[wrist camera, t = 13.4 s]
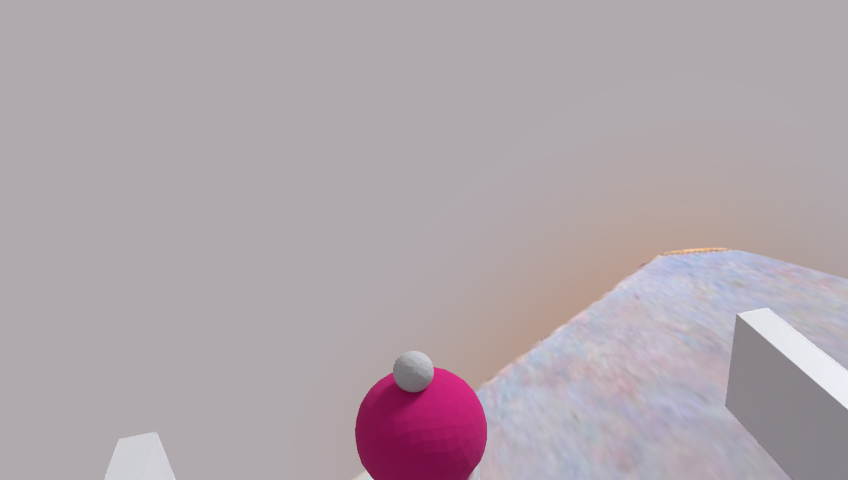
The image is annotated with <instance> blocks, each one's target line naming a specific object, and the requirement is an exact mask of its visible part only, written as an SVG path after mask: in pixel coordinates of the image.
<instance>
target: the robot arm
mask: <svg viewBox="0 0 848 480" xmlns="http://www.w3.org/2000/svg"><path fill="white" fill-rule="evenodd" d="M725 406H726V407H727V408H728V410H729V411H730V412H731V413H732V414H733V415H734V416H735V417H736V418H737V420H738V421H739V422H740V423H741V424H742V425H743V426H744V427H745V428H746V429H747V431H748V432H749V433H750V434H751V435H752V436H753V437H754V438H755V439H756V440H757V442H758V443H759V444H760V445H761V446H762V447H763V448H764V449H765V450H766V452H767V453H768V454H769V455H770V456H771V457H772V458H773V459H774V460H775V461H776V463H777V464H778V465H779V466H780V467H781V468H782V469H783V470H784V471H785V473H786V474H787V475H788V476H789V477H790V478H791V479H792V480H848V371H847V370H846V369H844V368H843V367H842V366H841V365H839V364H838V363H837V362H835V361H834V360H833V359H832V358H830V357H829V356H828V355H827V354H825V353H824V352H823V351H822V350H820V349H819V348H818V347H817V346H815V345H814V344H813V343H811V342H810V341H809V340H808V339H806V338H805V337H804V336H803V335H801V334H800V333H799V332H798V331H796V330H795V329H794V328H793V327H791V326H790V325H789V324H787V323H786V322H785V321H784V320H782V319H781V318H780V317H779V316H777V315H776V314H775V313H774V312H772V311H771V310H770V309H769V308H763V309H758V310H753V311H748V312H743V313H738V314H737V315H736V323H735V332H734V340H733V348H732V356H731V364H730V372H729V380H728V388H727V396H726V404H725ZM104 480H176V479H175V477H174V474H173V472H172V469H171V467H170V464H169V462H168V459H167V457H166V454H165V452H164V449H163V447H162V444H161V442H160V439H159V437H158V434H157V432H152V433H147V434H142V435H137V436H132V437H127V438H122V439H119V440H118V443H117V446H116V449H115V451H114V454H113V457H112V459H111V462H110V465H109V468H108V470H107V473H106V476H105V478H104Z"/></svg>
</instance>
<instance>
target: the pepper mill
mask: <svg viewBox="0 0 848 480" xmlns="http://www.w3.org/2000/svg"><path fill="white" fill-rule="evenodd" d="M355 436H356V444H357V450H358V454H359V457H360V459H361V462H362V464H363V466H364V467H365V469H366V470H367V471H368V473H369V474H370V476H371V477H372V478H373V479H374V480H480V477H479V462H480V461H481V458H482V456H483V453H484V450H485V446H486V441H487V424H486V418H485V414H484V411H483V408H482V405H481V403H480V401H479V399H478V397H477V396H476V394H475V392H474V391H473V389H471V388H470V386H469V385H468V384H467V383H466V382H465V381H464V380H463V379H461V378H459V377H458V376H456V375H455V374H453V373H451V372H449V371H447V370H444V369H440V368H435V367H433V364H432V362H431V360H430V359H429V358H428V357H427V356H426V355H425V354H423V353H422V352H417V351H409V352H406V353H404V354H402V355H401V356H400V357H399V358H398V359H397V360H396V362H395V364H394V368H393V373H391V374H389V375H388V376H386V377H384V378H383V379H381V380H380V381H378V382H377V383H376V384H375V385H374V386H373V387H372V388H371V389H370V391H369V392H368V393H367V395H366V396H365V398H364V400H363V401H362V403H361V406H360V408H359V412H358V416H357V421H356V428H355Z"/></svg>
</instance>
